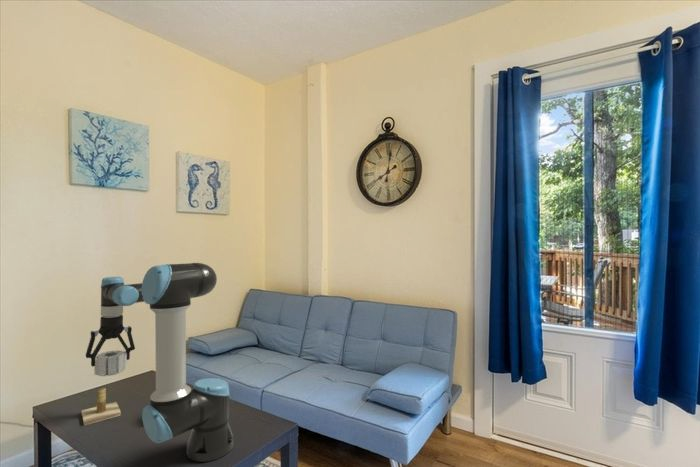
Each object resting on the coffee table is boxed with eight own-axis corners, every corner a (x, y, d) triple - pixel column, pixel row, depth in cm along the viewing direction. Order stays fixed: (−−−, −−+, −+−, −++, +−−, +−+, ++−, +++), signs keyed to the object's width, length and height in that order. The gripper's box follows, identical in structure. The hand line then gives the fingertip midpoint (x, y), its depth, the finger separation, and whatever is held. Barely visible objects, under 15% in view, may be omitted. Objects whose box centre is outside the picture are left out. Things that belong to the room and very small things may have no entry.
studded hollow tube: (125, 372, 141) (126, 355, 141) (98, 378, 135) (98, 360, 135) (122, 365, 148) (122, 349, 148) (95, 370, 142) (96, 353, 142)
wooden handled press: (120, 415, 142) (121, 390, 142) (84, 425, 134) (84, 399, 134) (116, 404, 151) (116, 380, 151) (81, 413, 143) (81, 388, 143)
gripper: (140, 310, 151) (139, 362, 151) (77, 317, 137) (75, 374, 137) (144, 313, 145) (143, 367, 146) (78, 321, 131) (77, 380, 131)
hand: (110, 370), depth 141 cm, fingers closed on studded hollow tube, 9 cm apart
